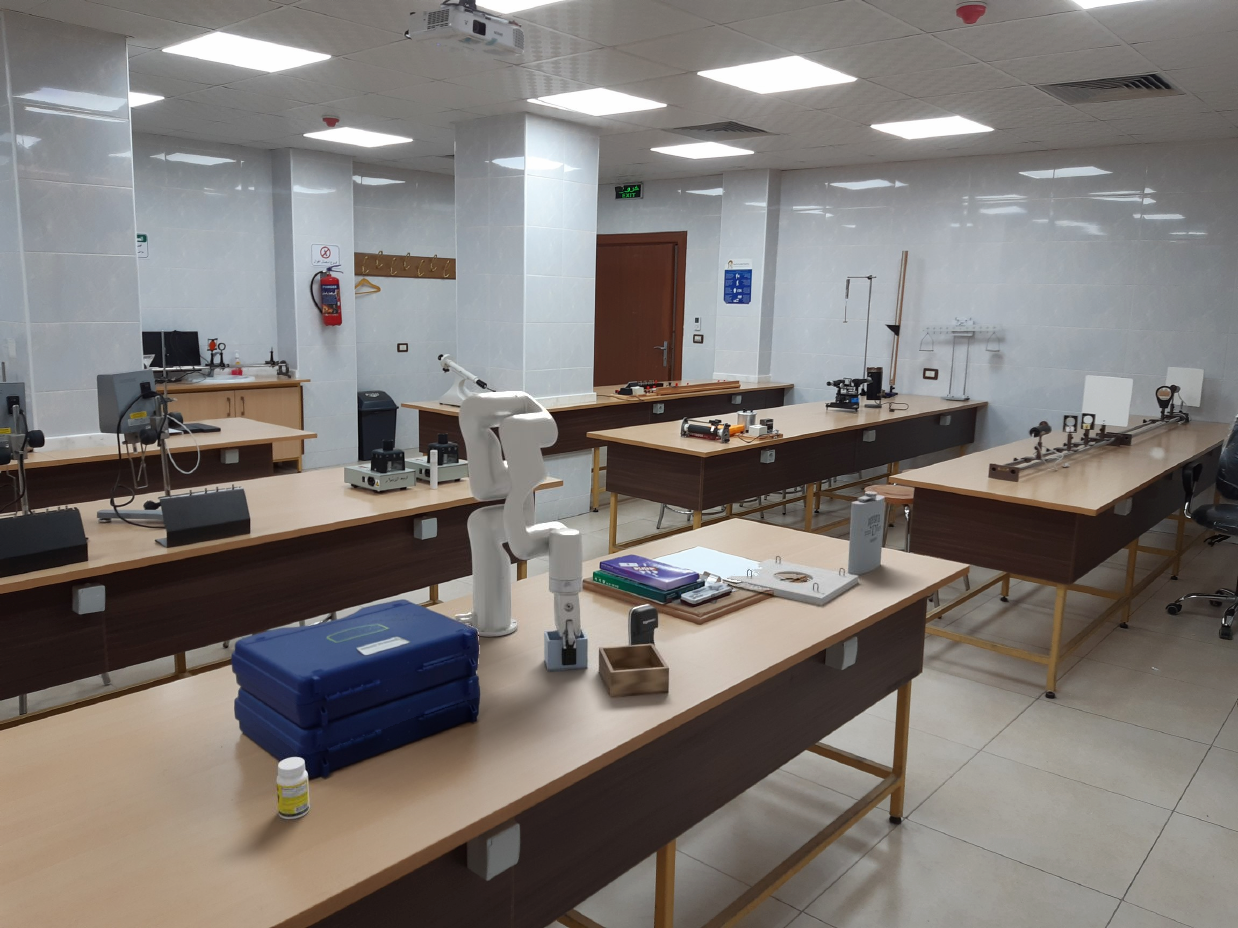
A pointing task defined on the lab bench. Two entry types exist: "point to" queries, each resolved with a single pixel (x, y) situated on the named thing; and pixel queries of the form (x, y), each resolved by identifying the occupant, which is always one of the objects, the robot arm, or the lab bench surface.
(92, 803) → the lab bench surface
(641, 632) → the black upright device
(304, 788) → the supplement bottle
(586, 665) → the box
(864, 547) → the flask
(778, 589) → the mounting panel
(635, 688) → the open wooden box
